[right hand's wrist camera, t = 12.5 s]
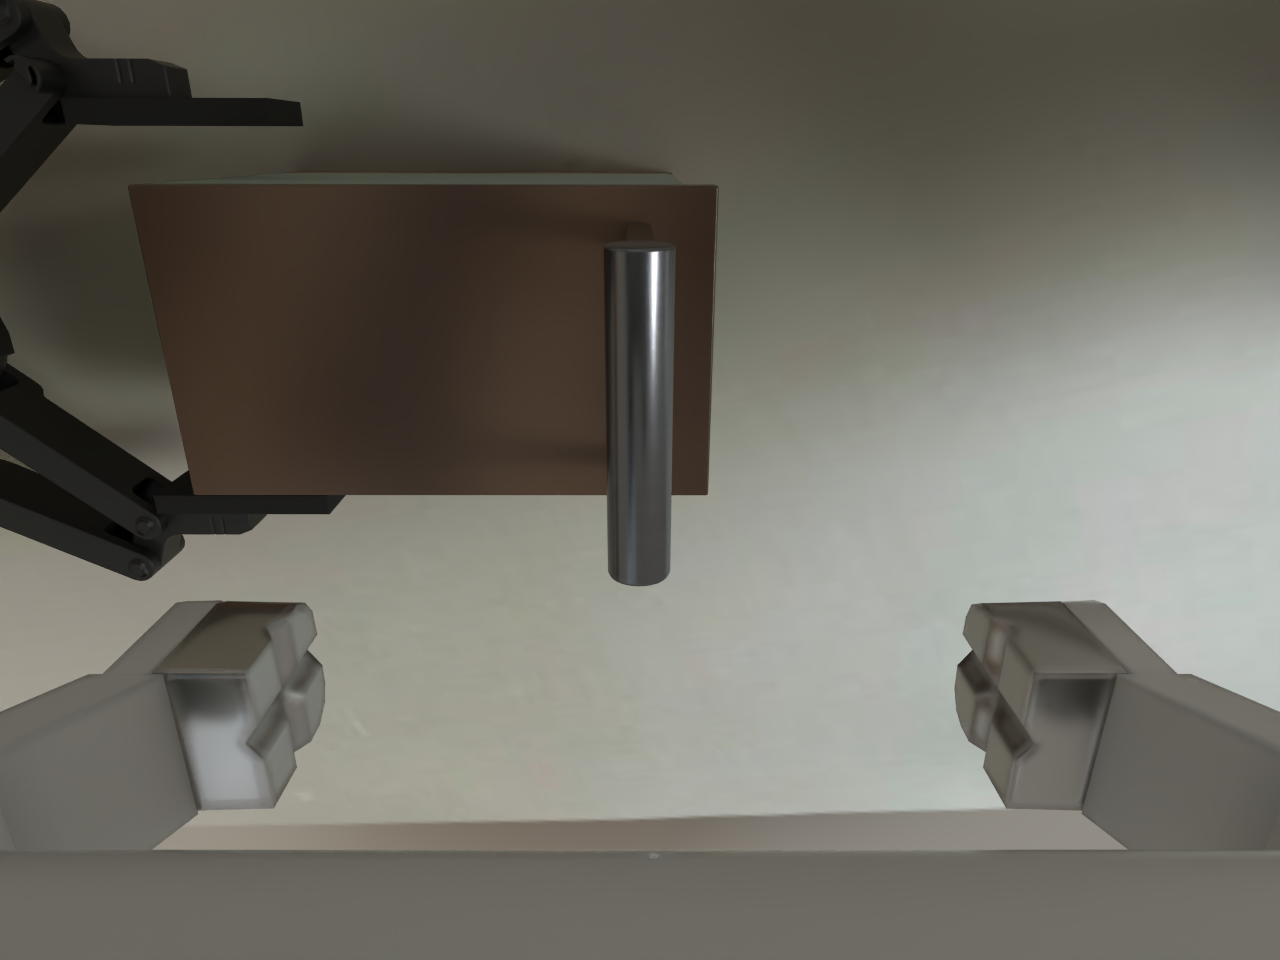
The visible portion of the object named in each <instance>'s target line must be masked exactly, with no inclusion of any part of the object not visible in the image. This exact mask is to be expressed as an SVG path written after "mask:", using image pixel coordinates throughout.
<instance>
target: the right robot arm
mask: <svg viewBox="0 0 1280 960" xmlns="http://www.w3.org/2000/svg"><path fill="white" fill-rule="evenodd" d="M316 635H317V631H316V626H315V621H314V616H313V612H312V610H311V609H310V608H309V607H308V606H307V604H306V603H291V602H238V601H226V602H223V601H221V600H220V601H186V602H179V603H175V604H174V605H173V606H172V607H171V608H170V609H169V610H168V611H167V612H166V613H165V614H164V615H163V616H162V617H161V618H160V619H159V620H158V621H157V622H156V623H155V624H154V625H153V626H152V627H151V628H149V629H148V630H147V631H146V632H145V633H144V634H143V635H142V636H141V637H140V638H139V639H138V640H137V641H136V642H135V643H134V644H133V645H132V646H131V647H130V648H129V649H128V650H127V651H126V652H125V653H124V654H123V655H122V656H121V657H120V658H119V659H118V660H116V661H115V662H114V663H113V664H112V665H111V666H110V667H109V668H108V669H107V670H106V671H105V672H104V673H103V674H88V675H86V676H83V677H81V678H79V679H76V680H74V681H72V682H69V683H67V684H65V685H62V686H60V687H58V688H55V689H53V690H51V691H48V692H46V693H44V694H41V695H39V696H37V697H34V698H32V699H29V700H27V701H25V702H22V703H20V704H18V705H15V706H13V707H11V708H8V709H6V710H4V711H1V712H0V960H1280V712H1278V711H1276V710H1274V709H1271V708H1269V707H1267V706H1264V705H1262V704H1260V703H1257V702H1255V701H1253V700H1250V699H1248V698H1246V697H1243V696H1241V695H1239V694H1236V693H1234V692H1232V691H1229V690H1227V689H1225V688H1222V687H1220V686H1218V685H1215V684H1213V683H1211V682H1208V681H1206V680H1204V679H1201V678H1199V677H1197V676H1194V675H1192V674H1177V673H1176V672H1175V671H1174V670H1173V669H1172V668H1171V667H1170V666H1169V665H1168V664H1167V663H1166V662H1165V661H1164V660H1163V659H1162V658H1161V657H1159V656H1158V655H1157V654H1156V653H1155V652H1154V651H1153V650H1152V649H1151V648H1150V647H1149V646H1148V645H1147V644H1146V643H1145V642H1144V641H1143V640H1142V639H1141V638H1140V637H1139V636H1138V635H1137V634H1136V633H1135V632H1134V631H1133V630H1132V629H1131V628H1130V627H1129V626H1128V625H1127V624H1126V623H1125V622H1124V621H1122V620H1121V619H1120V618H1119V617H1118V616H1117V615H1116V614H1115V613H1114V612H1113V611H1112V610H1111V609H1110V608H1109V607H1108V606H1107V605H1106V604H1104V603H1101V602H1098V601H1095V600H1089V601H1065V602H1061V601H1058V602H1017V603H980V604H972V605H971V607H970V609H969V611H968V613H967V616H966V620H965V625H964V630H963V635H964V637H965V639H966V640H967V642H968V643H969V645H970V646H971V648H972V649H973V650H972V651H971V652H970V653H969V654H968V655H967V656H966V657H965V658H964V659H963V660H962V661H961V662H960V663H959V664H958V666H957V673H956V681H955V700H956V711H957V714H958V718H959V721H960V724H961V727H962V729H963V731H964V733H965V735H966V737H967V739H968V741H969V742H971V743H972V744H974V745H975V746H977V747H979V748H980V749H982V750H983V751H985V752H986V755H985V760H984V766H983V768H984V770H985V771H986V773H987V775H988V777H989V778H990V780H991V782H992V784H993V786H994V787H995V789H996V791H997V793H998V794H999V796H1000V798H1001V800H1002V802H1003V803H1004V805H1005V807H1006V808H1011V809H1048V810H1082V814H1083V815H1084V816H1085V817H1087V818H1088V819H1089V820H1091V821H1092V822H1093V823H1095V824H1096V825H1097V826H1098V827H1100V828H1101V829H1102V830H1104V831H1105V832H1106V833H1107V834H1109V835H1110V836H1111V837H1113V838H1114V839H1115V840H1117V841H1118V842H1119V843H1121V844H1122V845H1123V846H1124V847H1126V848H1127V849H1128V850H152V849H153V848H155V847H156V846H157V845H158V844H160V843H161V842H162V841H164V840H165V839H166V838H168V837H169V836H170V835H171V834H173V833H174V832H175V831H177V830H178V829H179V828H181V827H182V826H183V825H185V824H186V823H187V822H188V821H190V820H191V819H192V818H194V817H195V816H196V815H198V811H197V810H231V809H267V808H274V807H275V805H276V803H277V802H278V800H279V798H280V796H281V795H282V793H283V791H284V789H285V787H286V786H287V784H288V782H289V780H290V778H291V777H292V775H293V773H294V771H295V770H296V768H297V766H296V760H295V755H294V752H295V751H297V750H298V749H300V748H301V747H303V746H305V745H306V744H308V743H309V742H311V741H312V739H313V737H314V735H315V733H316V731H317V729H318V727H319V725H320V721H321V717H322V713H323V708H324V704H325V679H324V672H323V666H322V664H321V663H320V662H319V661H318V660H317V659H316V658H315V657H314V656H313V655H312V654H311V653H310V652H309V651H308V650H307V649H308V648H309V646H310V645H311V643H312V642H313V640H314V639H315V637H316Z"/></svg>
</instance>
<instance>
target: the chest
mask: <svg viewBox="0 0 1280 960" xmlns="http://www.w3.org/2000/svg"><path fill="white" fill-rule="evenodd" d="M148 184H673V185H683V184H682V183H681V182H680V181H679V180H677V179H676V178H675V177H674V176H673V175H672V173H502V172H288V173H280V174H267V175H253V176H240V177H227V178H213V179H200V180H187V181H174V182H160V183H148Z"/></svg>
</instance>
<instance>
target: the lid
mask: <svg viewBox="0 0 1280 960" xmlns="http://www.w3.org/2000/svg"><path fill="white" fill-rule="evenodd" d="M128 189H129V194H130V199H131V203H132V208H133V213H134V217H135V222H136V226H137V231H138V236H139V240H140V245H141V250H142V254H143V259H144V264H145V268H146V273H147V278H148V282H149V287H150V292H151V296H152V301H153V306H154V310H155V315H156V320H157V324H158V329H159V334H160V338H161V343H162V347H163V352H164V357H165V361H166V366H167V371H168V375H169V380H170V385H171V389H172V394H173V399H174V403H175V408H176V413H177V417H178V422H179V427H180V431H181V436H182V441H183V445H184V450H185V454H186V459H187V464H188V468H189V473H190V478H191V482H192V487H193V492H194V494H195V495H607V530H608V572H609V574H610V576H611V577H612V578H613V579H614V580H615V581H617V582H619V583H622V584H625V585H630V586H648V585H653V584H657V583H659V582H661V581H663V580H664V579H666V578H667V576H668V575H669V572H670V546H671V495H707V494H708V478H709V450H710V421H711V392H712V363H713V335H714V306H715V277H716V249H717V220H718V191H719V188H718V186H716V185H673V184H134V185H129V186H128Z"/></svg>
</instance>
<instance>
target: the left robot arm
mask: <svg viewBox="0 0 1280 960" xmlns="http://www.w3.org/2000/svg"><path fill="white" fill-rule="evenodd" d="M69 34H70V23H69V20H68V18H67V16H66V14H65V13H64V12H63V11H62V10H61V9H60V8H58V7H57V6H55V5H53V4H49V3H45V2H41V1H37V0H0V82H2V81H3V80H5V79H6V80H5V81H4V83H3V84H2V85H1V86H0V212H1V211H2V210H3V209H4V208H5V207H6V205H7V204H8V203H9V202H10V201H11V200H12V198H13V197H14V196H15V195H16V194H17V193H18V192H19V190H20V189H21V188H22V187H23V186H24V185H25V183H26V182H27V181H28V180H29V179H30V178H31V177H32V175H33V174H34V173H35V172H36V171H37V170H38V168H39V167H40V166H41V165H42V164H43V163H44V162H45V160H46V159H47V158H48V157H49V156H50V155H51V153H52V152H53V151H54V150H55V149H56V148H57V147H58V145H59V144H60V143H61V142H62V141H63V140H64V138H65V137H66V136H67V135H68V134H69V133H70V132H71V130H72V129H73V128H74V127H75V126H76V125H77V124H87V125H112V126H303V121H302V114H301V107H300V102H293V101H285V100H277V99H269V98H192V95H191V90H190V84H189V79H188V73H187V70H186V69H184V68H182V67H179V66H177V65H174V64H172V63H168V62H163V61H157V60H151V59H87V58H85V57H84V56H83V55H82V54H81V53H80V52H79V51H78V50H77V49H76V47H75V46H74V44H73V42H72V41H71V39H70V37H69ZM13 353H15V352H14V349H13V345H12V342H11V338H10V335H9V332H8V330H7V329H6V327H5V325H4V323H3V321H2V319H1V318H0V449H2V450H3V451H5V452H7V453H8V454H10V455H11V456H13V457H14V458H16V459H17V460H19V461H21V462H22V463H24V464H25V465H27V466H28V467H30V468H32V469H33V470H35V471H36V472H34V471H32V470H29V469H27V468H24V467H22V466H20V465H17V464H14V463H11V462H9V461H6V460H2V459H0V527H2V528H5V529H8V530H10V531H13V532H15V533H18V534H20V535H23V536H25V537H28V538H30V539H33V540H35V541H38V542H40V543H43V544H46V545H48V546H51V547H53V548H56V549H58V550H61V551H63V552H66V553H68V554H71V555H73V556H76V557H79V558H81V559H84V560H86V561H89V562H91V563H94V564H96V565H99V566H101V567H104V568H106V569H109V570H111V571H114V572H117V573H119V574H122V575H124V576H127V577H129V578H132V579H134V580H139V581H144V580H147V579H149V578H151V577H152V576H153V575H154V574H155V573H157V572H158V571H159V570H160V569H161V568H162V567H163V566H164V565H166V564H167V563H168V562H169V561H170V560H171V559H172V558H174V557H175V556H176V555H177V554H178V553H179V552H180V551H181V550H182V549H183V548H184V546H185V540H184V537H183V535H182V534H242V533H245V532H247V531H250V530H252V529H253V528H254V527H255V526H256V525H257V524H258V523H259V522H260V521H261V520H262V519H263V518H264V517H265V516H266V515H267V514H330V513H331V512H332V511H333V510H334V508H335V507H336V506H337V505H338V504H339V502H340V501H341V500H342V499H343V498H344V496H345V495H195V494H194V492H193V487H192V482H191V478H190V473H189V470H188V471H187V472H185V473H184V474H182V475H181V476H180V477H178V478H177V479H175V480H174V481H173V482H171V481H170V480H168V479H167V478H165V477H164V476H162V475H161V474H159V473H158V472H156V471H155V470H153V469H152V468H150V467H149V466H147V465H146V464H144V463H143V462H141V461H140V460H138V459H137V458H135V457H134V456H132V455H131V454H129V453H128V452H126V451H125V450H123V449H122V448H120V447H119V446H117V445H116V444H114V443H113V442H111V441H110V440H108V439H107V438H105V437H104V436H102V435H101V434H99V433H98V432H96V431H95V430H93V429H92V428H90V427H89V426H87V425H86V424H84V423H83V422H81V421H80V420H78V419H77V418H75V417H74V416H72V415H71V414H69V413H68V412H66V411H65V410H63V409H62V408H60V407H59V406H57V405H56V404H54V403H53V402H51V401H50V400H48V399H47V398H45V397H44V395H43V389H42V387H41V386H40V385H39V384H38V383H36V382H35V381H33V380H32V379H30V378H29V377H27V376H26V375H24V374H23V373H21V372H20V371H18V370H17V369H15V368H14V367H12V366H11V365H9V364H8V363H7V355H10V354H13ZM37 472H38V473H37Z"/></svg>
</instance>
